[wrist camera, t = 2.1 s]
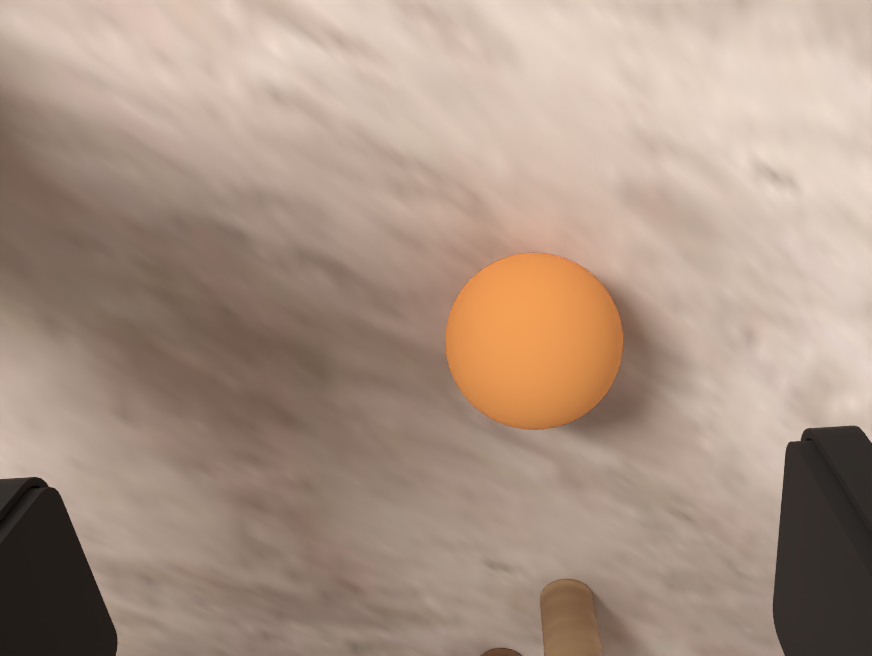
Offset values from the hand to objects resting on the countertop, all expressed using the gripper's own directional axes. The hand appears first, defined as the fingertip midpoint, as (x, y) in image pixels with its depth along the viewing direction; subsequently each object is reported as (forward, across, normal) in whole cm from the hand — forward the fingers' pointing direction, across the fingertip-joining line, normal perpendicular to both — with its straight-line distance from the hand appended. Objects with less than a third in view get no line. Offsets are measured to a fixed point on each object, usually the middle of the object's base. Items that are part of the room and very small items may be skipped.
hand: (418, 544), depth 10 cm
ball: (+16, -2, +6) cm, 18 cm away
